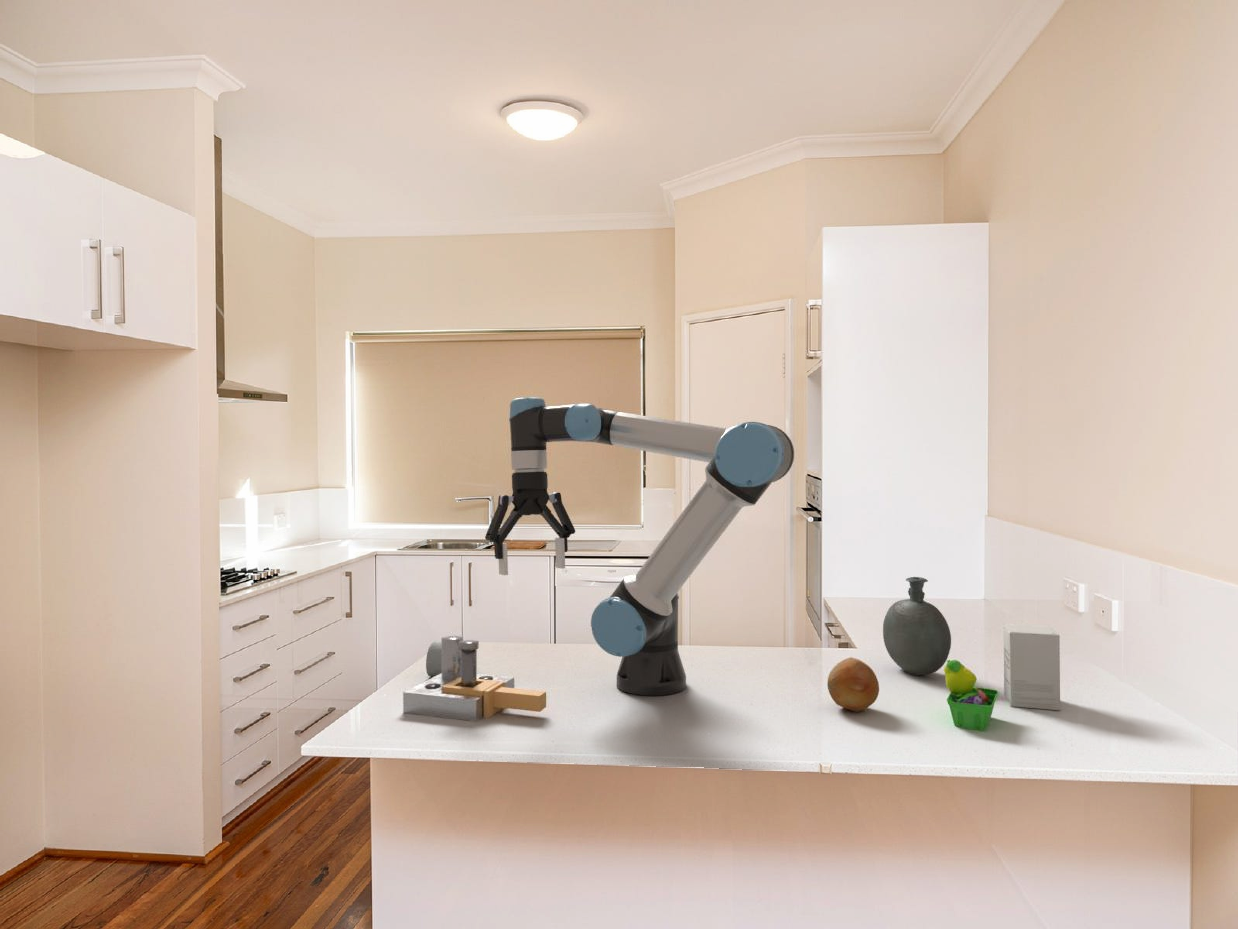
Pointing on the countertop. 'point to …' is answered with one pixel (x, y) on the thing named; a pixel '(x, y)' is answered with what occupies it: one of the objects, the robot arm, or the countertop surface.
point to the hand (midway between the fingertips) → (532, 571)
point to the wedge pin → (469, 662)
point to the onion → (853, 685)
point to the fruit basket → (968, 698)
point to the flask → (916, 632)
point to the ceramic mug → (434, 659)
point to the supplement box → (1032, 666)
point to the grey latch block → (444, 704)
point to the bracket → (500, 696)
